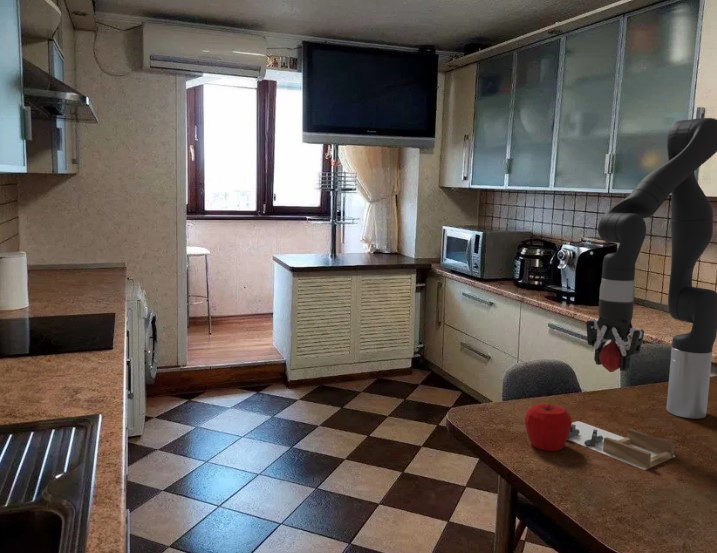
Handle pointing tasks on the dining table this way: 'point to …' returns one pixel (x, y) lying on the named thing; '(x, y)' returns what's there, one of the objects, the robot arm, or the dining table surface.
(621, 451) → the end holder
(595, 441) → the board
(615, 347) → the onion
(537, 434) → the apple
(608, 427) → the dining table surface
